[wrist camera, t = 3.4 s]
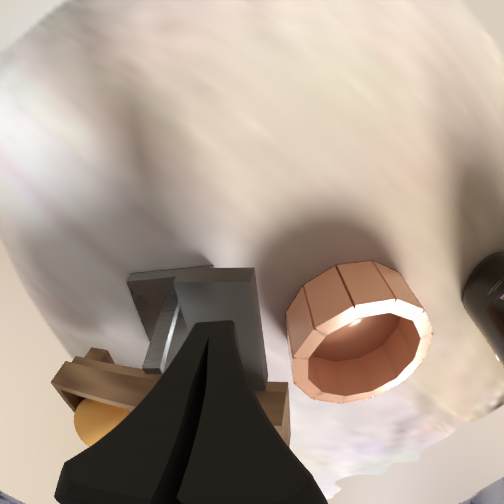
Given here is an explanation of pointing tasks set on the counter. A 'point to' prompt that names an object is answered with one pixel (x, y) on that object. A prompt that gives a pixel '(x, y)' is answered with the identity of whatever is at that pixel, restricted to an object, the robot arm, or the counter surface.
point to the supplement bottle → (488, 301)
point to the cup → (355, 333)
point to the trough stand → (159, 316)
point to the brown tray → (194, 310)
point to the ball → (96, 420)
